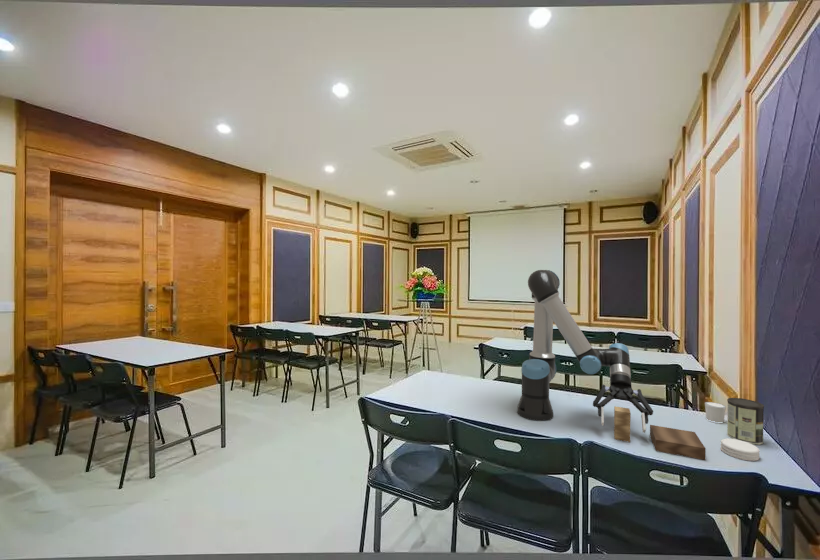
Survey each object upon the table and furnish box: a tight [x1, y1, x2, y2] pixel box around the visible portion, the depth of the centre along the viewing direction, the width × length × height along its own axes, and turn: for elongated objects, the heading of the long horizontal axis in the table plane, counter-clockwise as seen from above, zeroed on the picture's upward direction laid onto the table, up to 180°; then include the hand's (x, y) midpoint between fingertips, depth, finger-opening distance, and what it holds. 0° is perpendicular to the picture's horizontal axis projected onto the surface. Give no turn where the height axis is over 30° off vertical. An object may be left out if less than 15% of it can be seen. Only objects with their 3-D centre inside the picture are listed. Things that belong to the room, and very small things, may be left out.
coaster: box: [720, 438, 761, 462], centre depth 125 cm, size 10×10×4 cm
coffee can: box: [726, 397, 765, 446], centre depth 137 cm, size 10×10×14 cm
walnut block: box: [649, 424, 707, 461], centre depth 130 cm, size 14×14×4 cm
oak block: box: [613, 405, 632, 443], centre depth 137 cm, size 5×5×11 cm
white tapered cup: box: [704, 401, 727, 422], centre depth 153 cm, size 7×7×7 cm
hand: (623, 427), depth 135 cm, fingers open, 13 cm apart
